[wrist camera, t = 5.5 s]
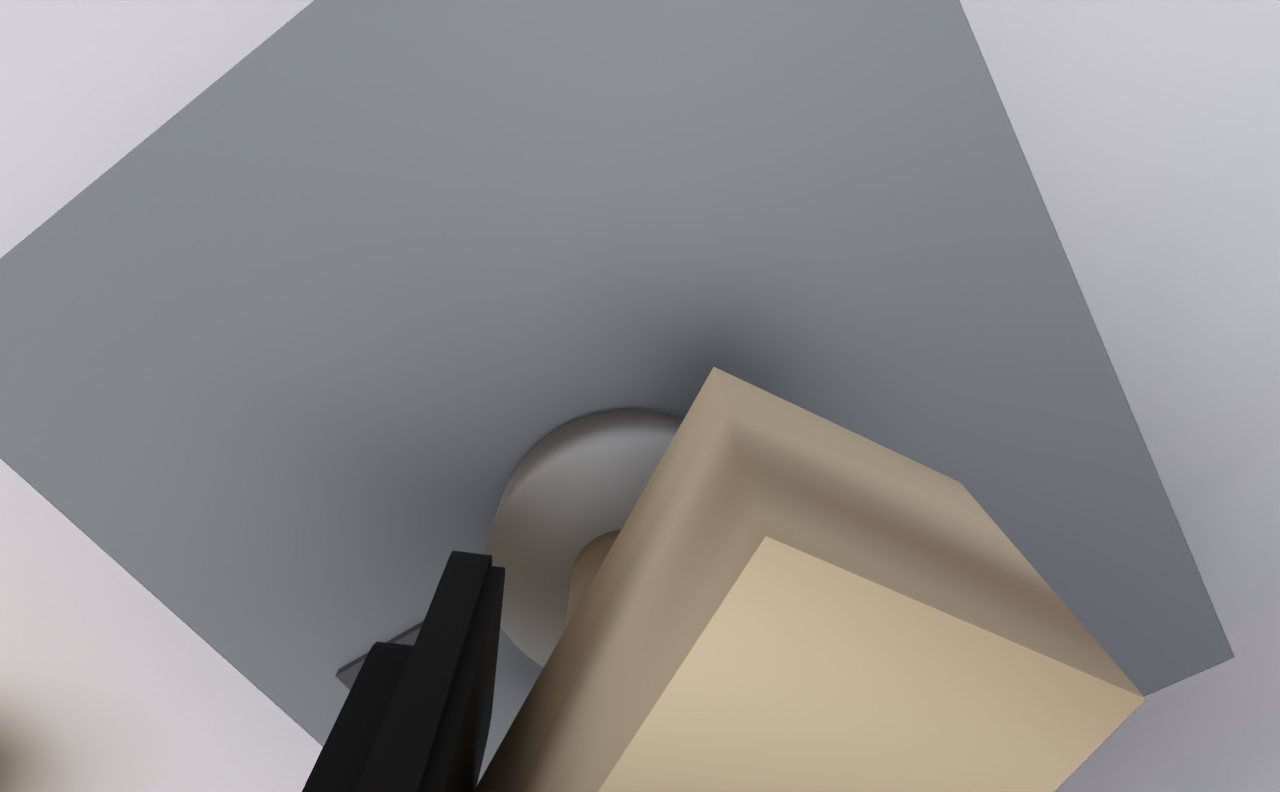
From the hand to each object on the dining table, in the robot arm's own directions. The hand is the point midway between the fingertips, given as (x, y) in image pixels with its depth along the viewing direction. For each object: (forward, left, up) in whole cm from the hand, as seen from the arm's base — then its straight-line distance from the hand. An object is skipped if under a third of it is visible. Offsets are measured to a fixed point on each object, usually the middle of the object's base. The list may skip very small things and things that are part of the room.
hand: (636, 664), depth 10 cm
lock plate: (0, 0, -6) cm, 6 cm away
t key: (0, 0, -4) cm, 4 cm away
